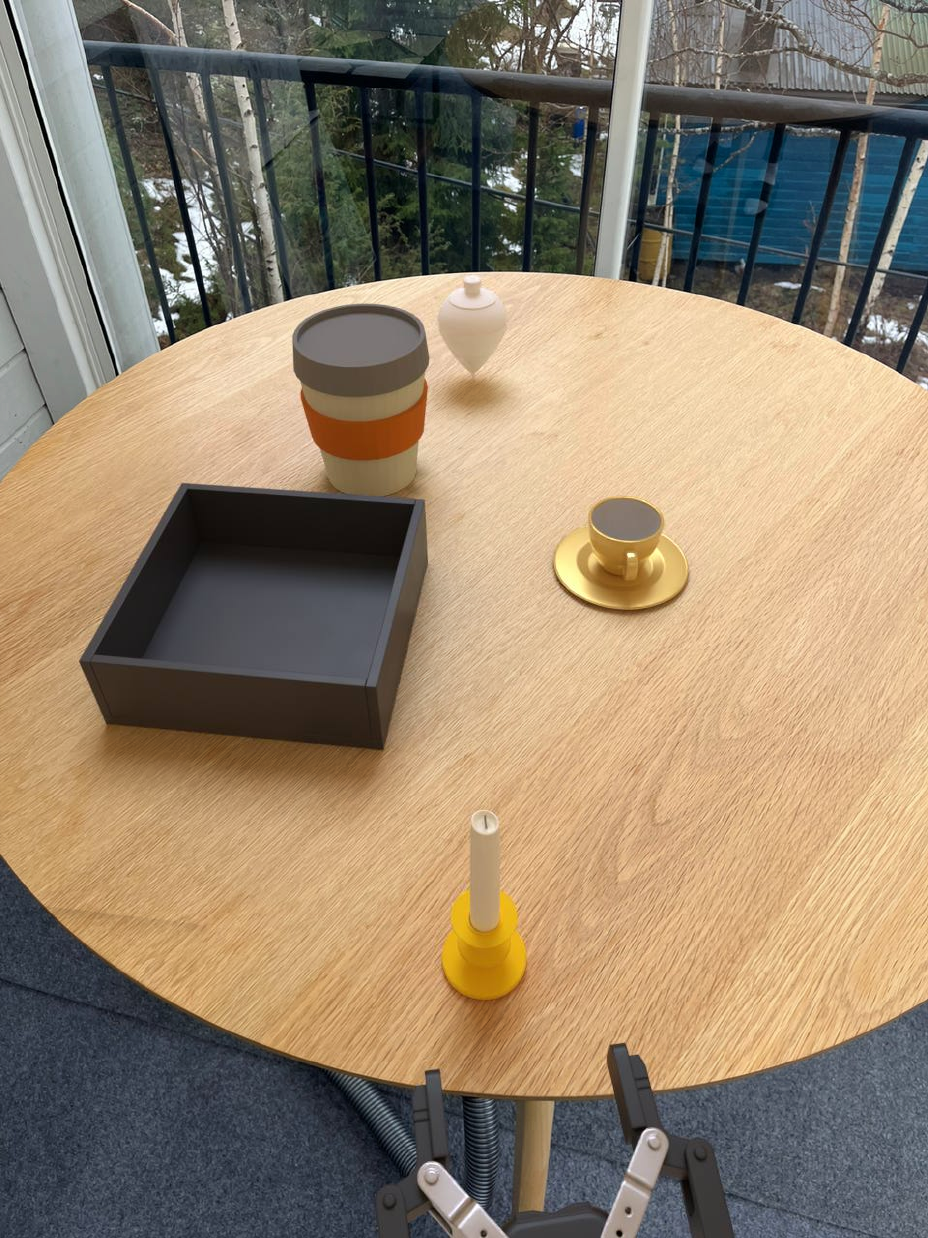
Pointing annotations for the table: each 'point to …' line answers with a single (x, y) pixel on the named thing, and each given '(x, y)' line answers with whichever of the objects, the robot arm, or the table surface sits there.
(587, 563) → the cup
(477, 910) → the candle
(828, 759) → the table surface
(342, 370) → the reusable coffee cup
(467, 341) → the spinning top
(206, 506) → the bin
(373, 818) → the table surface
